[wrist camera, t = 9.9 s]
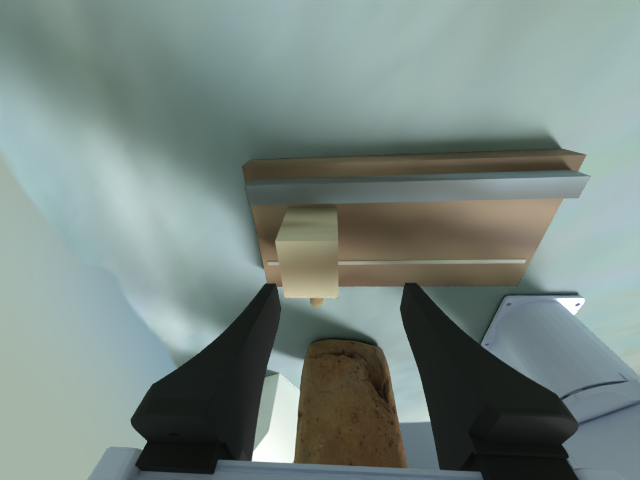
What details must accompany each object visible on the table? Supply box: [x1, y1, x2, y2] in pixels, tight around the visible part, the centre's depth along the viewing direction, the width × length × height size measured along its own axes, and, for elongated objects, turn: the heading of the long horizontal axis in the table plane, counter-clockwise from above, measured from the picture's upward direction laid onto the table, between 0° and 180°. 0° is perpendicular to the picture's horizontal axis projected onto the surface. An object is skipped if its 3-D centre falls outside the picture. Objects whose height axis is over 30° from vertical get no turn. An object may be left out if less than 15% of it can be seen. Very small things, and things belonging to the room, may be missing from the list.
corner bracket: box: [252, 373, 300, 463], centre depth 34 cm, size 11×11×12 cm
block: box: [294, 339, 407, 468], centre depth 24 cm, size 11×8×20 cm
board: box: [242, 149, 591, 287], centre depth 20 cm, size 12×24×4 cm, turn 93°
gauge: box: [275, 207, 338, 307], centre depth 19 cm, size 9×4×5 cm, turn 2°
